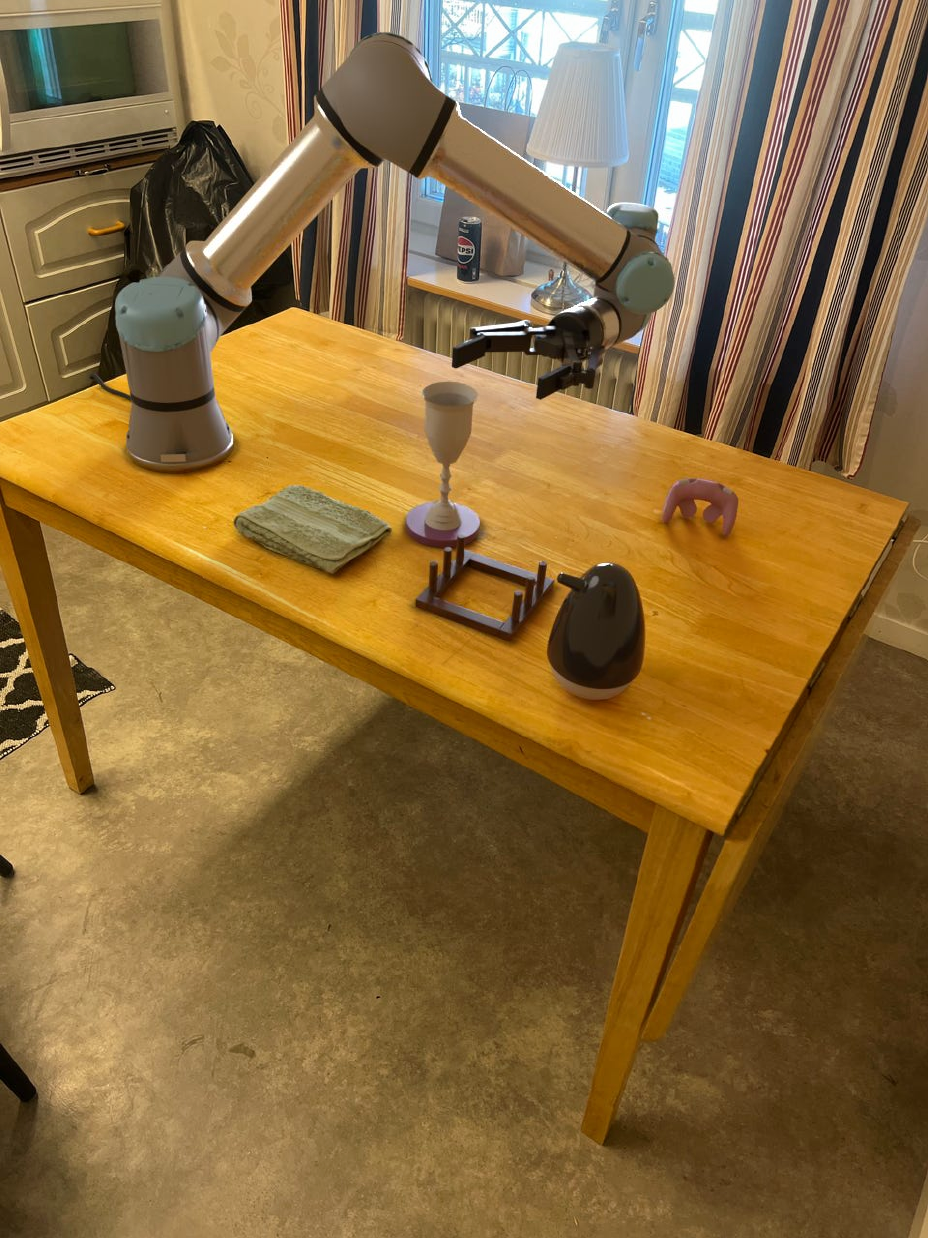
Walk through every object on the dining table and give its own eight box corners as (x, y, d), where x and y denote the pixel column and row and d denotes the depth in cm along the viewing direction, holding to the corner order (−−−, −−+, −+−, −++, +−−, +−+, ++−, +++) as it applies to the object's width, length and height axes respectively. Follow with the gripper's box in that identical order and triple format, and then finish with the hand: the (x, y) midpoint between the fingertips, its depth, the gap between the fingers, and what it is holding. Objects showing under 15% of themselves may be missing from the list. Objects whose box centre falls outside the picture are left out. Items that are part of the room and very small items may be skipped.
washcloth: (334, 583, 108) (333, 561, 106) (228, 534, 115) (225, 513, 113) (397, 537, 117) (397, 516, 115) (295, 494, 124) (294, 474, 122)
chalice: (462, 538, 116) (471, 409, 105) (412, 530, 117) (415, 401, 106) (473, 510, 122) (482, 385, 111) (425, 502, 122) (429, 378, 111)
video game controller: (730, 535, 126) (743, 486, 124) (731, 537, 121) (744, 487, 120) (661, 520, 128) (673, 472, 126) (659, 522, 123) (671, 472, 122)
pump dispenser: (534, 652, 100) (550, 538, 91) (624, 651, 101) (649, 539, 92) (548, 715, 92) (567, 598, 83) (646, 714, 93) (675, 598, 84)
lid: (391, 533, 118) (391, 525, 117) (428, 501, 125) (428, 494, 124) (457, 556, 115) (458, 548, 114) (491, 521, 122) (492, 514, 121)
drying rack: (414, 607, 106) (416, 572, 103) (463, 556, 115) (466, 523, 112) (510, 642, 101) (514, 607, 98) (553, 587, 110) (558, 554, 107)
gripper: (652, 382, 125) (573, 430, 111) (508, 334, 136) (420, 372, 122) (663, 330, 121) (582, 373, 107) (513, 284, 132) (422, 318, 118)
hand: (495, 373), depth 115 cm, fingers open, 13 cm apart
